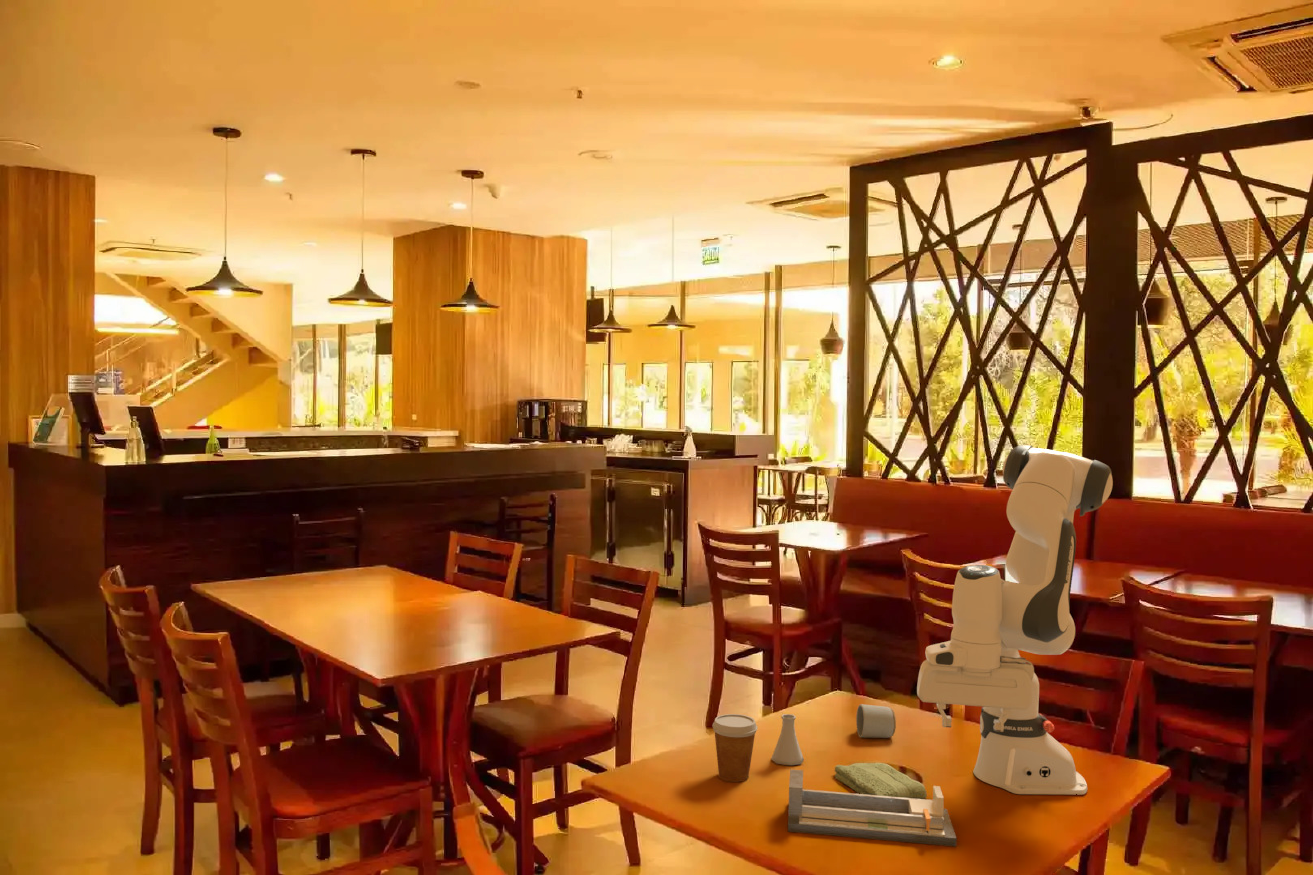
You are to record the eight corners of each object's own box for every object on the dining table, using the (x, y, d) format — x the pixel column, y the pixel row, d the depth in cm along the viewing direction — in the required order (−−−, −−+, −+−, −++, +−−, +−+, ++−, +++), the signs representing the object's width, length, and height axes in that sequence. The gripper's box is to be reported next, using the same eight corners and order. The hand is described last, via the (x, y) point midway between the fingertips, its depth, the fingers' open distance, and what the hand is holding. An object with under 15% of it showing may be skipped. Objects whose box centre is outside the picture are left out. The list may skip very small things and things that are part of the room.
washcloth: (881, 770, 210) (882, 755, 210) (931, 801, 193) (931, 785, 193) (829, 776, 205) (829, 761, 205) (875, 809, 189) (875, 793, 189)
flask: (805, 766, 209) (807, 721, 209) (772, 766, 210) (773, 720, 209) (801, 755, 217) (802, 711, 216) (769, 754, 217) (770, 710, 217)
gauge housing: (946, 816, 185) (947, 777, 185) (956, 846, 172) (957, 805, 172) (789, 802, 190) (790, 765, 190) (787, 831, 177) (788, 791, 177)
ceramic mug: (897, 742, 226) (897, 709, 226) (862, 741, 226) (863, 709, 226) (884, 728, 237) (885, 697, 237) (851, 727, 237) (852, 696, 237)
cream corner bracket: (938, 813, 182) (939, 785, 182) (945, 836, 172) (946, 806, 172) (908, 811, 183) (909, 783, 183) (913, 833, 173) (914, 803, 173)
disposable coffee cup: (753, 768, 208) (754, 713, 208) (759, 785, 198) (760, 727, 198) (709, 767, 208) (710, 712, 207) (713, 785, 198) (714, 727, 198)
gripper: (1030, 654, 179) (1027, 727, 179) (917, 646, 182) (914, 718, 182) (1038, 662, 172) (1035, 738, 173) (920, 654, 176) (918, 729, 176)
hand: (972, 728), depth 178 cm, fingers open, 8 cm apart
